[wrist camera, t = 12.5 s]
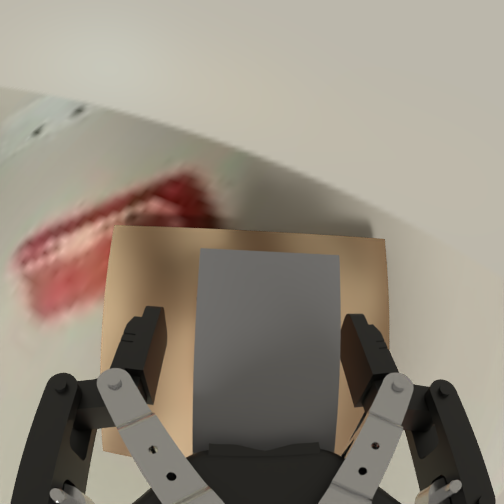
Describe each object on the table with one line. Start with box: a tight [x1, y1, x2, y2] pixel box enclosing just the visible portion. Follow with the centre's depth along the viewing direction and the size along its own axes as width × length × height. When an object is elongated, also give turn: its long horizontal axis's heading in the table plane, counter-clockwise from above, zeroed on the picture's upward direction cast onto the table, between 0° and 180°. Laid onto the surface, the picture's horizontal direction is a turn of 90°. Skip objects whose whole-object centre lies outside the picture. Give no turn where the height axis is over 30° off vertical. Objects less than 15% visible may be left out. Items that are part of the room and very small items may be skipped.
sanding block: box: [192, 248, 341, 454], centre depth 13 cm, size 6×8×8 cm
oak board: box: [100, 225, 389, 457], centre depth 17 cm, size 17×14×2 cm
